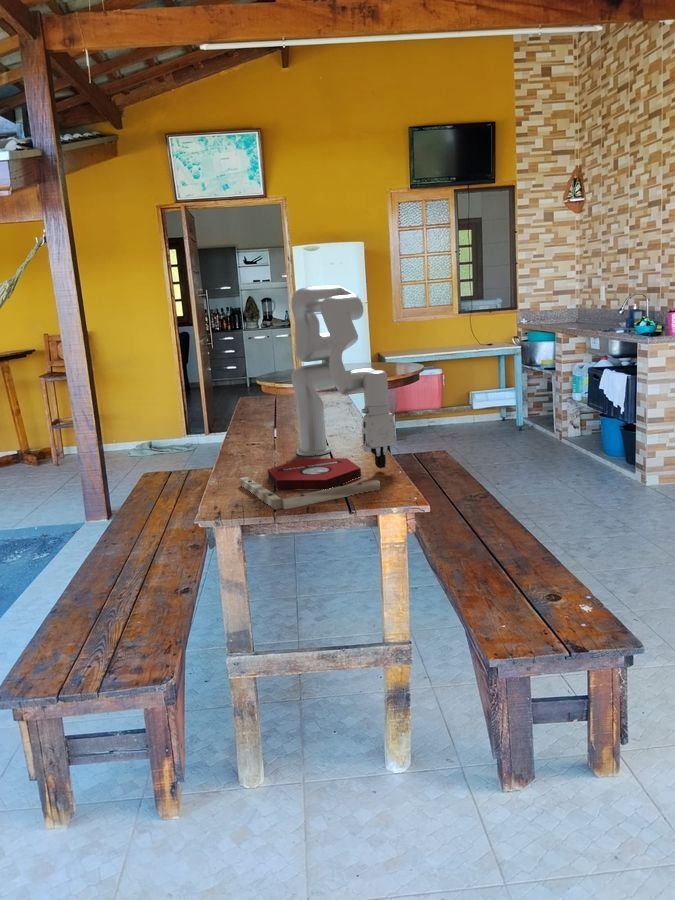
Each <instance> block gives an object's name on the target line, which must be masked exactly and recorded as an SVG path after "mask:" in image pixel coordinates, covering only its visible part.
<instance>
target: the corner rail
mask: <svg viewBox="0 0 675 900" xmlns="http://www.w3.org/2000/svg"><path fill="white" fill-rule="evenodd" d="M239 483H240V487H241V486H242V487H241V488H243V487H244V488H245V489H244V488H243V489H244V490H246V489H247V490H248V491H247V490H246V491H247V492H249V491H250V492H251V493H252V494H251V493H250V492H249V493H250V494H251V495H253V494H254V495H255V496H254V495H253V496H254V497H256V496H257V497H258V498H257V497H256V498H257V499H259V500H260V499H261V501H262V502H263V501H264V502H263V503H265V504H266V505H267V504H268V506H269V507H270V506H271V508H272V509H273V510H280V509H283V510H288V509H289V510H290V509H294V508H299V507H304V506H308V505H314V504H317V503H322V502H327V501H328V502H329V501H332V500H336V499H342V498H346V497H351V496H350V495H352V496H355V495H354V494H357V495H360V494H359V493H361V494H364V493H363V492H366V493H369V492H368V491H371V492H374V491H375V490H376V491H379V490H381V481H380V480H378V479H372V480H366V481H361V482H357V483H351V484H348V485H347V484H346V485H340V486H337V487H334V488H331V489H326V490H315V491H313V492H308V493H300V494H298V495H293V496H287V497H283V498H281V497H279V496H278V495H277V494H275V493H274V492H272V491H271V490H269V489H267V488H266V487H265V486H264V487H263V485H261V484H260V483H257V482H256V481H255V480H253V479H251V478H250V477H249V476H246V477H245V476H244V477H240V478H239Z"/></svg>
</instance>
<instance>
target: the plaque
mask: <svg viewBox="0 0 675 900" xmlns="http://www.w3.org/2000/svg"><path fill="white" fill-rule="evenodd" d="M361 469H362V468H361V467H360V466H358V465H357V464H356V463H354V462H353V461H352V460H350V459H348V458H347V457H343V458H341V457H338V458H337V457H336V458H334V457H333V458H331V457H330V458H329V457H328V458H327V457H326V458H301V459H298V460H295V461H291V462H287V463H285V464H284V463H283V464H281V465H277V466H274V467H272V468H268V469H267V474H268V480H269V479H270V480H271V481H272V482H271V481H270V480H269V481H270V482H271V484H272V485H273V484H274V485H275V486H274V485H273V486H274V487H275V489H276V488H277V489H278V490H277V489H276V490H277V491H295V490H294V489H324V490H325V489H329V488H332V487H334V488H336V487H335V486H337V487H339V486H341V485H340V484H342V485H344V484H343V483H345V484H347V483H346V482H348V481H350V480H352V479H355V478H358V477H360V476H361V477H362V471H361ZM348 483H349V482H348ZM338 485H339V486H338Z"/></svg>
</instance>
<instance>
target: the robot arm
mask: <svg viewBox="0 0 675 900" xmlns="http://www.w3.org/2000/svg"><path fill="white" fill-rule="evenodd" d="M290 304H291V310H292V315H293V318H294V332H295V333H294V336H295V337H294V339H295V341H294V342H295V345H294V346H295V355H296V358H297V360H298V361H300V362H303V363H311V362H319V361H321V363H313V364H306V365H301V366H299V367H298V366H297V368H295V369H294V370H293V371H292V374H291V383H292V387H293V388H292V389H293V391H294V396H295V401H296V411H297V421H298V422H297V423H298V433H299V434H298V435H299V440H297V441H296V442H297V445H299V448H297V449H296V454H297V455H298V456H305V457H311V456H313V457H314V456H315V455H316V456H322V455H325V454H329V453H330V452H332V447H331V446H329V445H327V431H326V421H325V409H324V408H325V407H324V402H323V400H322V398H321V397H320V395H319V394H318V391H323V390H329V389H334V388H336V390H337V391H338V393H339V394H341V395H345V396H348V395H355V394H361V393H363V399H364V407H363V408H362V409H361V413H362V414H364V415H363V419H362V428H361V429H362V433H361V434H362V435H361V436H362V445H363V451H364V452H366V453H367V452H369V453H372V455H373V456H374V461H375V462H374V464H375V466H376V468H378V469H383V468H384V469H385V468H386V464H387V461H386V460H387V459H386V457H387V455H388V452H389V450H390V449H392V448H395V446H396V443H397V433H396V432H397V431H396V425H395V424H396V423H395V420H394V416H393V413H391V412H390V402H389V401H390V400H389V384H388V375H387V372H386V371H385V370H382V369H381V370H379V369H377V370H376V369H374V368H371V367H363V368H356V369H349V370H346V368H345V365H344V363H343V353H344V352H345V351H346V350H348V349H349V348H351V347H352V346H353V345H355V344H356V343H357V341H358V340H359V335H358V331H357V329H356V327H355V325H354V323H353V321H355V320H356V321H357V320H359V319H361V318H362V316H363V314H364V305H363V302H362V300H361V298H359V296H358V295H357V294H356V293H354V292H352V291H350V290H348V289H347V288H344V287H342V286H340V285H335V284H334V285H333V284H331V285H318V286H316V285H315V286H306V287H302V288H299V289H297V290H296V291H295V292H294V293H293V295H292V297H291V303H290ZM319 312H320V314H321V315H322V318H323V321H324V323H325V327H326V329H327V332H320V330H321V329H320V325H321V324H320V320H319V318H318V316H317V315H316V313H319Z"/></svg>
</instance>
